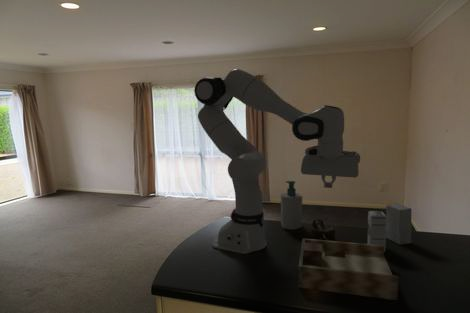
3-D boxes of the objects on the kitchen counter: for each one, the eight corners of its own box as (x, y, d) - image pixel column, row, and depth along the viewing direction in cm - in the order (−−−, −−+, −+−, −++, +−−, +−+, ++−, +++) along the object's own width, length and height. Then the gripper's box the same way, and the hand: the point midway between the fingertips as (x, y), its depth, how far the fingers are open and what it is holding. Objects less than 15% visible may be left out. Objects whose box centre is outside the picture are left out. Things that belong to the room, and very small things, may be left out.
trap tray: (298, 287, 95) (298, 266, 94) (302, 255, 116) (302, 238, 115) (397, 300, 87) (398, 277, 86) (382, 264, 108) (383, 245, 107)
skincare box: (411, 243, 125) (413, 208, 123) (398, 245, 123) (400, 210, 121) (396, 235, 133) (398, 203, 131) (384, 237, 131) (386, 204, 129)
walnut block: (303, 264, 101) (303, 249, 101) (304, 256, 107) (304, 242, 106) (321, 266, 100) (322, 251, 99) (321, 257, 105) (322, 244, 105)
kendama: (328, 229, 143) (337, 246, 123) (307, 229, 144) (313, 246, 124) (328, 217, 142) (337, 232, 123) (307, 217, 143) (313, 232, 124)
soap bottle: (292, 221, 153) (292, 178, 150) (305, 226, 146) (306, 181, 143) (276, 225, 148) (276, 181, 145) (289, 231, 140) (290, 184, 137)
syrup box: (385, 251, 118) (387, 215, 116) (369, 250, 119) (371, 215, 117) (381, 245, 123) (383, 211, 121) (366, 244, 124) (367, 210, 123)
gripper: (359, 150, 111) (357, 187, 113) (302, 148, 116) (301, 183, 118) (361, 152, 105) (358, 191, 107) (301, 150, 110) (299, 187, 112)
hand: (328, 187), depth 113 cm, fingers closed
